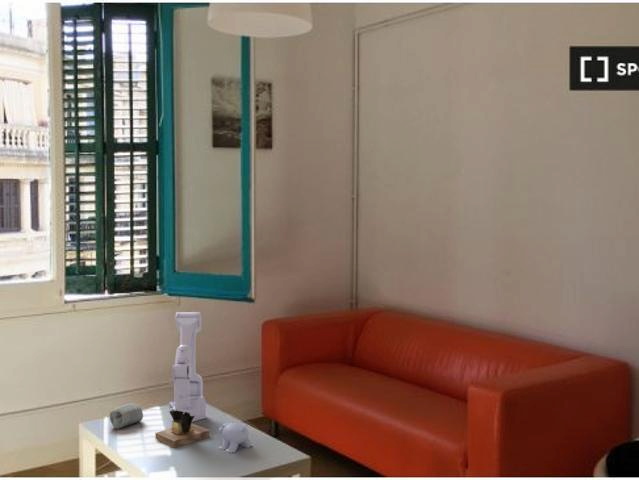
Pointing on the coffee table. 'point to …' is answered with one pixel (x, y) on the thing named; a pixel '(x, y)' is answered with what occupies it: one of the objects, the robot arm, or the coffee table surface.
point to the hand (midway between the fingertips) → (182, 430)
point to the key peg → (179, 427)
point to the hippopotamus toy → (234, 436)
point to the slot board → (182, 436)
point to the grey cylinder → (126, 415)
